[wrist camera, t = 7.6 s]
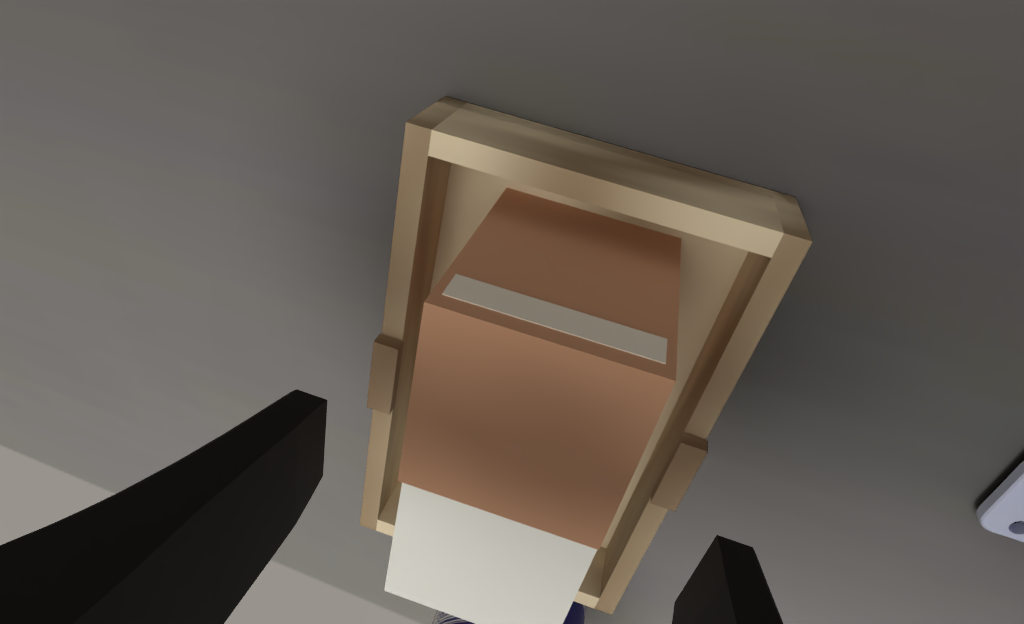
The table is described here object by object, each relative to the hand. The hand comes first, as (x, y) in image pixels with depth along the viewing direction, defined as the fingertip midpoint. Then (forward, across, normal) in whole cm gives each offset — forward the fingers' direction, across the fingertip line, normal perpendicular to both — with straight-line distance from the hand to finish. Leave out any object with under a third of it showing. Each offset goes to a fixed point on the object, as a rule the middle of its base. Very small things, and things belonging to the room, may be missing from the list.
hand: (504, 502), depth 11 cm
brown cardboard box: (+7, 0, 0) cm, 7 cm away
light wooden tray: (+8, 0, +3) cm, 8 cm away
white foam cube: (+7, 0, +6) cm, 10 cm away
